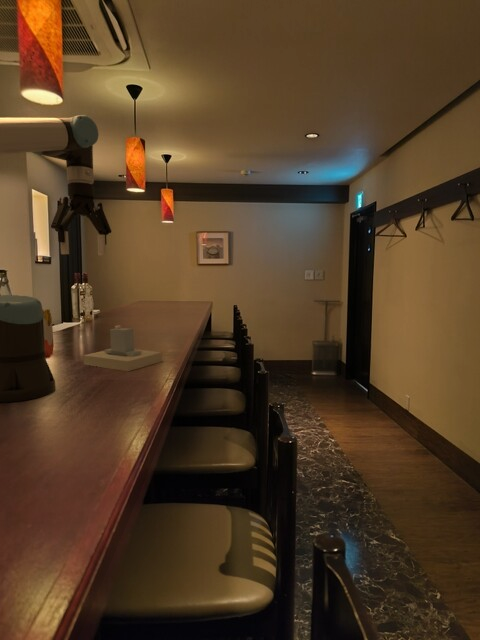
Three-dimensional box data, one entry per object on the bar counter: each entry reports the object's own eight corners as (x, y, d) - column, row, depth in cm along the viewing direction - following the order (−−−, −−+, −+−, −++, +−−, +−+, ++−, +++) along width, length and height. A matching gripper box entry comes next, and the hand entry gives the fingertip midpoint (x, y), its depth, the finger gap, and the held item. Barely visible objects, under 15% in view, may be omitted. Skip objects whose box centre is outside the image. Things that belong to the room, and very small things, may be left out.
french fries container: (55, 352, 154) (52, 303, 151) (49, 358, 143) (45, 305, 141) (41, 353, 152) (38, 303, 150) (34, 359, 142) (31, 305, 140)
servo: (132, 366, 130) (130, 327, 128) (105, 362, 136) (103, 325, 134) (141, 363, 133) (140, 326, 132) (114, 360, 139) (112, 324, 138)
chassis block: (128, 371, 123) (127, 361, 123) (83, 364, 133) (83, 355, 132) (162, 361, 136) (161, 352, 136) (119, 356, 146) (119, 347, 145)
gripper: (51, 174, 115) (55, 253, 117) (120, 189, 136) (123, 255, 139) (34, 177, 119) (39, 253, 121) (104, 191, 140) (107, 256, 142)
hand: (84, 255), depth 130 cm, fingers open, 13 cm apart
